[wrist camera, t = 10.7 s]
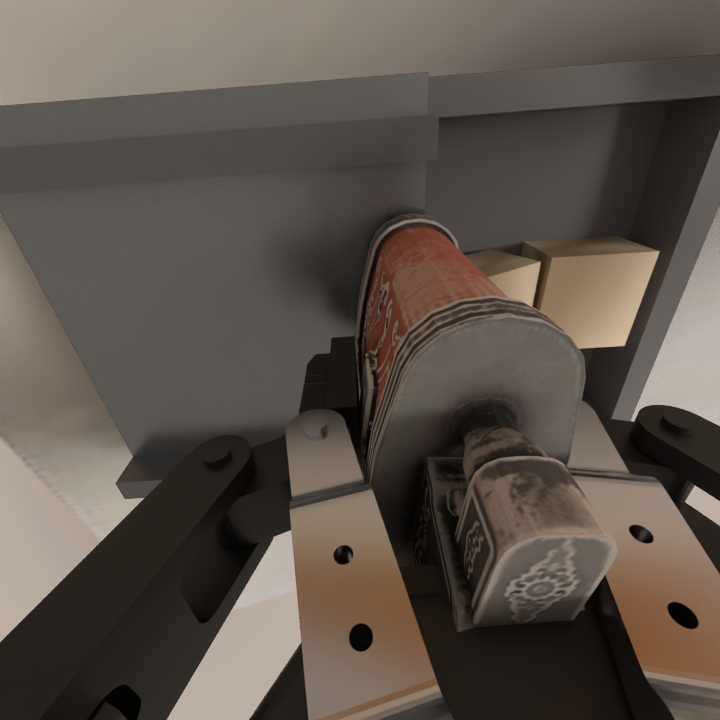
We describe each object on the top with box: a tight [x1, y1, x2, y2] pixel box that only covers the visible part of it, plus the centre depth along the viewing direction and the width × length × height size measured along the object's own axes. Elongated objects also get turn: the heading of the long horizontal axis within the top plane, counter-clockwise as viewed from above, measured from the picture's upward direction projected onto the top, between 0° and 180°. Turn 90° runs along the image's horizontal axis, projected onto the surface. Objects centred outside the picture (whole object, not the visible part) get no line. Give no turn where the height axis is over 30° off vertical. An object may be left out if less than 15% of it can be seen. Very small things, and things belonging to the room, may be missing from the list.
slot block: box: [0, 72, 439, 499], centre depth 15 cm, size 13×15×6 cm
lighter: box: [355, 214, 618, 632], centre depth 9 cm, size 8×3×10 cm, turn 178°
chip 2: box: [521, 236, 660, 349], centre depth 16 cm, size 4×4×2 cm
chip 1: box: [465, 249, 541, 306], centre depth 15 cm, size 4×4×2 cm
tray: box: [425, 54, 720, 421], centre depth 16 cm, size 10×15×3 cm
